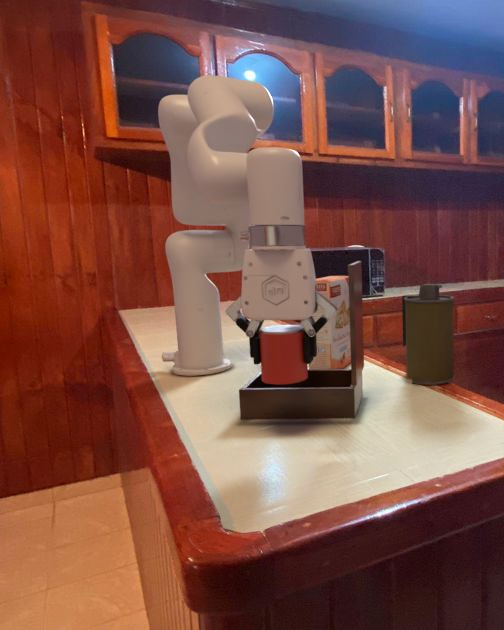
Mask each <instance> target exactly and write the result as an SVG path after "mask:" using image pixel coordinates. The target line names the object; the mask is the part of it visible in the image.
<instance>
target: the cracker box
mask: <svg viewBox="0 0 504 630" xmlns="http://www.w3.org/2000/svg"><path fill="white" fill-rule="evenodd" d="M316 284H317V291H318V292H319V293H320V294H322V295H323V296H324V297H325V298H326V299H327V300H329V301H330V302H331V303H332V304H333V305H334V306H336V307H337V311H336V313H335V314H334V315H333V316H332V317H331V318H330V320H329V321H328V322H327V323H326V324H325V325H324V326H323V327H322V328H321V329H320V330H319V331H318V332H317V333H316V340H317V356H316V357H314V358H313V361H312V362H311V363H310V364H308V370H312V369H344V368H345V367H347V366H348V365H349V364H351V346H350V312H349V279H348V275H328V276H324V277H323V276H322V277H319V278H316ZM323 313H324V309H323V308H322V307H320V306H319V305H318V310H317V312H316V313H314V314H312V317H313V319H314V320H315V322H316V321H317V320H318V319H319V318H320V317H321V316H322V315H323Z"/></svg>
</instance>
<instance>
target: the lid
mask: <svg viewBox="0 0 504 630" xmlns="http://www.w3.org/2000/svg"><path fill="white" fill-rule="evenodd" d="M362 271H363V270H362V260H357V261H355V262H352V263H350V264H348V265H347V273H348V275H347V276H348V279H349V312H350V346H351V362H350V369H351V379H352V386H356V385H357V383H358V380H359V378H360V375H361V373H362V374H363V370H364V367H365V352H364V351H365V348H364V347H365V346H364V311H363V310H364V309H363V274H362Z"/></svg>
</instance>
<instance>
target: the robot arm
mask: <svg viewBox="0 0 504 630" xmlns="http://www.w3.org/2000/svg"><path fill="white" fill-rule="evenodd" d="M274 114H275V105H274V101H273V97H272V95H271V93H270V92H269V90H268V89H267V88H266V87H265V86H264V85H263V84H262V83H259V82H257V81H252V80H247V79H238V78H234V77H228V76H222V75H215V74H213V75H211V74H210V75H209V74H208V75H202V76H199V77H196V78H195V79H194V80H193V81H192V82H191V83H190V85H189V87H188V89H187V94H169V95H168V94H167V95H165V96H164V97H162V98H161V99H160V100H159V103H158V108H157V115H158V116H157V117H158V123H159V124H158V125H159V128H160V132H161V135H162V136H163V140H164V143H165V145H166V148H167V150H168V151H167V152H168V154H169V159H170V177H171V178H170V187H171V188H170V189H171V190H170V191H171V208H172V213H173V217H174V218H175V220H176V221H177V222H178V223H180V224H183V225H187V226H209V227H210V226H224V227H226V230H225V229H224V230H223V229H217V230H216V229H214V230H213V229H211V230H210V229H188V230H187V229H186V230H178V231H176V232H173V233H172V234H169V236H168V237H167V239H166V241H165V245H164V248H165V255H166V260H167V264H168V268H169V272H170V278H171V283H172V293H173V303H174V304H173V305H174V315H175V326H176V327H175V328H176V340H177V341H176V342H177V350H176V351H174V352H172V351H163V352H162V354H161V360H162V362H164V363H169V362H173V363H174V365H172V367H171V371H172V373H173V375H177V376H184V377H185V376H186V377H189V376H190V377H192V376H193V377H194V376H205V375H214V374H219V373H221V372H225V371H227V370H229V369H231V367H232V361H231V360H230V359H227V358H224V356H225V355H224V343H223V341H224V340H223V326H222V310H221V298H220V297H221V295H220V292H219V289H218V287H217V286H216V285H215V283H213V282H212V281H211V280H210V279H209V278H208V276H207V274H212V273H229V272H230V273H231V272H240V271H241V294H240V295H239V296H238V298H237V299H235V300H234V301H233V302H232V303H231V304H230V305H228V307H227V308H226V309H225V314H226V316H228V317H229V318H230V319H231V320H232V321H233V322H234V323H235V325H236V326H237V327H238V328H239V329H240V330H242V332H244V334H245V336H246V337H247V338H248V339H249V356H250V358H251V359H252V358H253V364H254V365H255V366H256V365H261V356H260V338H259V331H260V330H261V329H262V328H263V327H262V326H263V324H264V321H300V324H301V325H303V327H304V329H305V331H306V336H305V337H304V360H305V363H306V364H307V365H309V364H310V363H311V362H312V361H313V358H314V357H316V356H317V340H316V333H317V332H318V331H319V330H320V329H321V328H322V327H323V326H324V325H325V324H326V323H327V322H328V321H329V320H330V318H331V317H332V316H333V315H334V314H335V313H336V311H337V307H336V306H334V305H333V304H332V303H331V302H330V301H329V300H327V299H326V298H325V297H324V296H323V295H322V294H320V293H319V292H318V291H317V284H316V279H317V275H316V269H315V264H314V259H313V254H312V250H311V248H306V246H307V245H306V226H305V224H306V223H305V201H304V200H305V198H304V197H305V196H304V176H303V175H304V174H303V173H304V172H303V160H302V157H301V156H300V154H299V153H298V152H297V151H296V150H294V149H291V148H285V147H278V146H274V147H273V146H264V147H263V146H262V147H257V148H253V146H255V143H256V140H257V139H258V138H260V137H261V136H262V135H264V134H265V133H266V132H267V131H268V129H269V128H270V126H271V125H272V123H273V120H274ZM252 148H253V149H252ZM247 152H248V153H247ZM318 305H319V306H320V307H322V308H323V309H324V313H323V315H322V316H321V317H320V318H319V319H318V320H317V321H316V322H315V320H314V319H313V317H312V314H314V313H316V312H317V310H318Z"/></svg>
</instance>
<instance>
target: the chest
mask: <svg viewBox="0 0 504 630" xmlns="http://www.w3.org/2000/svg"><path fill="white" fill-rule="evenodd" d="M363 389H364V388H363V372H362V373H361V375H360V378H359V380H358V383H357V385H356V386H352V379H351V368H342V369H312V370H309V369H308V378H307V379H306V380H303V381H301V382H297V383H292V384H268V383H264V382H263V381H262V373H261V370H260V371H258V373H256V374H255V375H254V376H253V377H252V378H250V379H249V380H248V381H247V382H246V383H245V384H243V386H242V387H240V388H239V389H238V397H239V413H240V420H241V421H243V420H244V421H247V420H248V421H249V420H250V421H251V420H252V421H254V420H261V421H262V420H332V419H333V420H334V419H335V420H336V419H338V420H339V419H342V420H343V419H344V420H345V419H346V420H347V419H356V417H357V414H358V410H359V408H360V405H361V402H362V398H363V395H364V394H363V392H364V391H363Z"/></svg>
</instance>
